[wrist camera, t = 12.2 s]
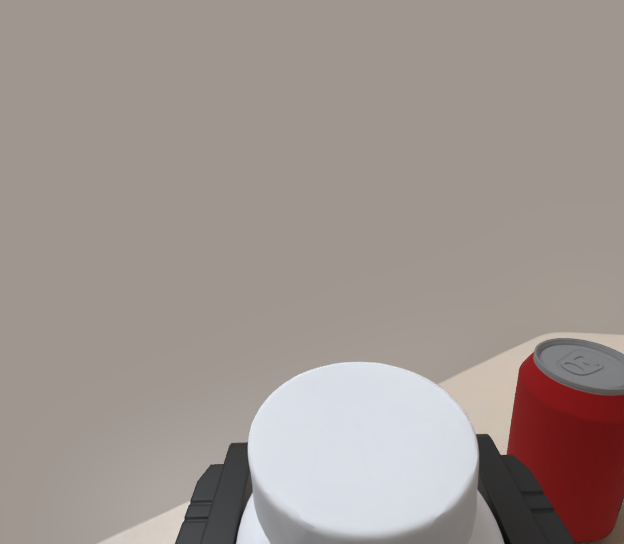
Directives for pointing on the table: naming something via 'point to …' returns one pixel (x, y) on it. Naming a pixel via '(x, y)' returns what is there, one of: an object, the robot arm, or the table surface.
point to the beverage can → (573, 431)
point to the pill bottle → (364, 463)
